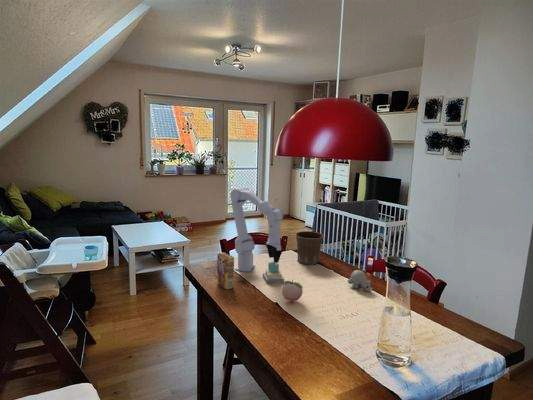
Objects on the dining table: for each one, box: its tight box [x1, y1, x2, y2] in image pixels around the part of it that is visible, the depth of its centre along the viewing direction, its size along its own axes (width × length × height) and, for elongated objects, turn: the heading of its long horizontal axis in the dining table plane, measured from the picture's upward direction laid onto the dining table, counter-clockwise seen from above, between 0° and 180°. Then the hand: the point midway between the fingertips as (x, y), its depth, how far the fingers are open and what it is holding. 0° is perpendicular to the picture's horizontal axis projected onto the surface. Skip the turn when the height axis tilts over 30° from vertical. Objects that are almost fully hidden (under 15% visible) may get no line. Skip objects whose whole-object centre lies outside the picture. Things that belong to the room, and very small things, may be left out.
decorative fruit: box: [281, 279, 304, 303], centre depth 148 cm, size 9×8×10 cm
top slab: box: [265, 268, 283, 279], centre depth 172 cm, size 7×7×2 cm
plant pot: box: [295, 230, 325, 266], centre depth 198 cm, size 16×16×16 cm
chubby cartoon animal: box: [347, 269, 373, 293], centre depth 163 cm, size 7×12×8 cm, turn 37°
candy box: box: [216, 252, 235, 290], centre depth 163 cm, size 9×4×15 cm, turn 39°
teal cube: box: [267, 261, 280, 273], centre depth 172 cm, size 4×4×4 cm
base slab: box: [262, 272, 285, 285], centre depth 172 cm, size 9×9×2 cm
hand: (273, 259), depth 171 cm, fingers open, 7 cm apart
